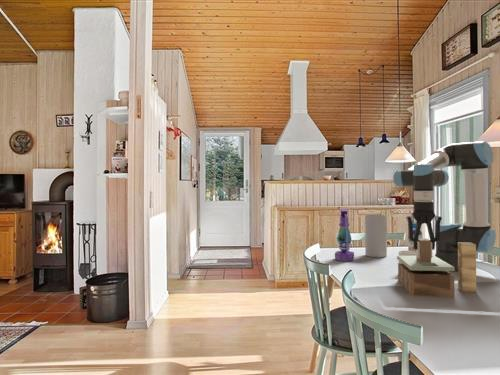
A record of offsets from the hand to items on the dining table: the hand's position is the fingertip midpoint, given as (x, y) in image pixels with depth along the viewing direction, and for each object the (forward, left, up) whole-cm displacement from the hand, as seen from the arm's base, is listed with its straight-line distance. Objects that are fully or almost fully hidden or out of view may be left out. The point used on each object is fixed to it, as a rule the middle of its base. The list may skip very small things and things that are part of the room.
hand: (424, 257), depth 155 cm
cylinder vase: (-76, -8, -14) cm, 78 cm away
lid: (-1, 0, -3) cm, 3 cm away
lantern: (-61, -28, -14) cm, 68 cm away
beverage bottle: (-81, +16, -14) cm, 84 cm away
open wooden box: (0, 0, -14) cm, 14 cm away
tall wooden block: (+1, +16, -14) cm, 21 cm away
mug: (-26, 0, -14) cm, 29 cm away
